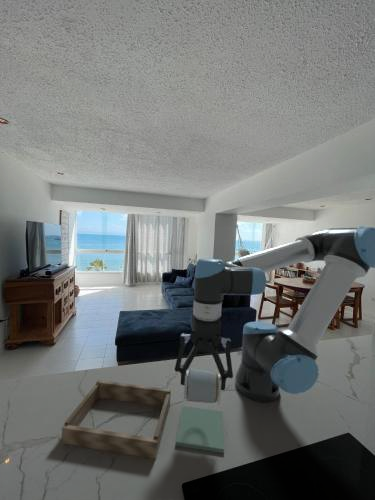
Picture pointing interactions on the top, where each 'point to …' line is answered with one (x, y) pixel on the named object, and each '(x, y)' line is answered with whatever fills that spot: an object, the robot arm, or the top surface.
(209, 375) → the ceramic mug
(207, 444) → the rubber mat
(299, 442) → the top surface
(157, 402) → the open wooden box frame
